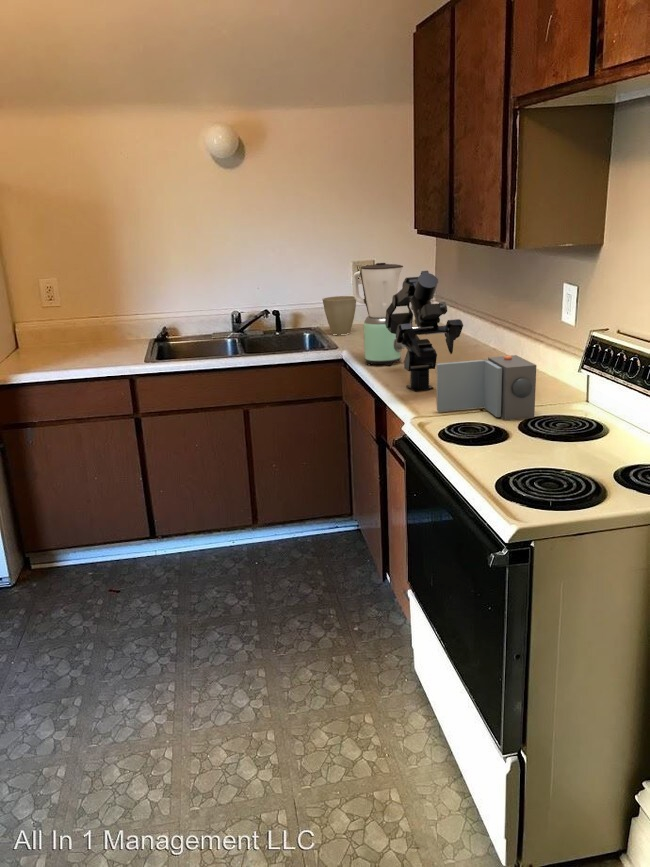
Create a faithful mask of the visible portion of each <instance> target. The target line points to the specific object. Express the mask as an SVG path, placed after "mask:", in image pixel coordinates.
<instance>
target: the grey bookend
mask: <svg viewBox="0 0 650 867" xmlns="http://www.w3.org/2000/svg"><path fill="white" fill-rule="evenodd" d="M501 395H502V368H501V367H499V366H498V365H496V364H494V363H492V362H490V361H489V360H488V358H487V359H475V360H466V361H463V360H461V361H454V362H441V363H436V411H437V412H439V413H440V412H449V411H450V412H451V411H460V410H471V409H472V410H474V409H481V408H482V409H483V408H484V409H485V410H486V411H488V412H489V413H491V414H492V415H493V416H495V417H496V418H501Z"/></svg>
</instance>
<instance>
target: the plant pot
mask: <svg viewBox="0 0 650 867" xmlns="http://www.w3.org/2000/svg"><path fill="white" fill-rule="evenodd" d="M322 303H323V309H324V313H325V318H326V320H327V324H328V326H329V329H330V331H331V334H332V335H333V334H337V335H341V334H347V333H350V334H351V330H352V327H353V323H354V319H355V315H356V308H357V301H356V299H355V298H354V295H352V296H351V295H338V296H337V295H336V296H330V297H329V296H328V297H323V298H322Z"/></svg>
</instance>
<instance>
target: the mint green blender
mask: <svg viewBox="0 0 650 867" xmlns="http://www.w3.org/2000/svg"><path fill="white" fill-rule="evenodd" d="M403 268H404V266H403V265H401V264H395V263H391V264H390V263H387V262H377V263H375V264H368V265H362V266H361V267H360V270H359V271H355V272H354V273H353V275H352V293H353V296H354V298H355V299H356V302H358V303H359V304H364V305H365V306H366V311H367V315H368V316H366V317H365V319H364V322H363V345H364V346H363V347H364V348H363V349H364V360H365V364H366V363H367V364H371V363H372V364H373V365H385V367H391V366H392V364H394V363H398V361H399V362H400V361H401V359H402V351H403V350H404V349H405V348H406V347H405V345H403V344H402V343H398V342H397V340H396V334H393V333H391V332H390V331H389V330H388V328H386V325H385V318H386V310H387V309H388V307H389V306H390V304H391V303H392V298H393V295H395V294H397V293H398V287H399V281H400V280H399V279H400V274H401V272H402V270H403ZM359 276H360V278H361V284H362V292H363V298H362V297H361V295H360V290H359ZM395 313H396V310H395V311H394V312H393V313H392V314H395Z"/></svg>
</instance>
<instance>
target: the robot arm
mask: <svg viewBox="0 0 650 867" xmlns="http://www.w3.org/2000/svg"><path fill="white" fill-rule="evenodd" d="M438 284H439V279H438V277H437V276H436V275H434V274H432V273H430V272H429V270H422V271H421V272H420V275H419V276H409V277H408V276H407V277H405V278H404V280H403V282H402V284H401V285H402V288H401V289H400V290H399V291H397V294H395V295H393V298H392V303H391V304H390V306H389V307H388V309H387V310H386V318H385V325H386V328H388V330H389V331H390V332H391V333H393V334H396V340H397V342H398V343H402V344H403V345H405V348H406V354H405V357H404V360H403V367H404V369H405V371H407V372H409V374H410V375H409V379H410V384H407V385H406V388H407V389H409V390H411V391H413V392H421V391H426V390H429V391H430V390H434V387H433V386H432V385H430V370H436V367H437V357H438V354H437V351H436V349H435V348H434V346H433V343H431V342H430V339H428V338H424V339H423V338H422V339H421V338H419V336H423V335H424V336H426V335H427V336H428V335H438V334H444V337H445V343H446V346H447V349H448V352H449V354H450V355H452V354H453V351H454V342H455V340H456V339H458V338H460V336H461V333H462V330H463V328H464V324H463V321H462V320H461V319H460V318H458V319H457V318H456V319H448V320H447V321H446V324H445V325H439V324H440V322H441V318H440V317H441V316H442V315H446V314H447V312H448V306H447V303H446V301H439V302H438V303H432V300H433V299H434V297H435V294H436V289H437V286H438ZM410 306H411V307H410ZM397 307H407V309H408V312H399V313H396V310H397ZM394 311H395V312H394ZM393 312H394V314H392V313H393ZM413 318H414V324H415V325H416V327H415V326H413Z"/></svg>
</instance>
